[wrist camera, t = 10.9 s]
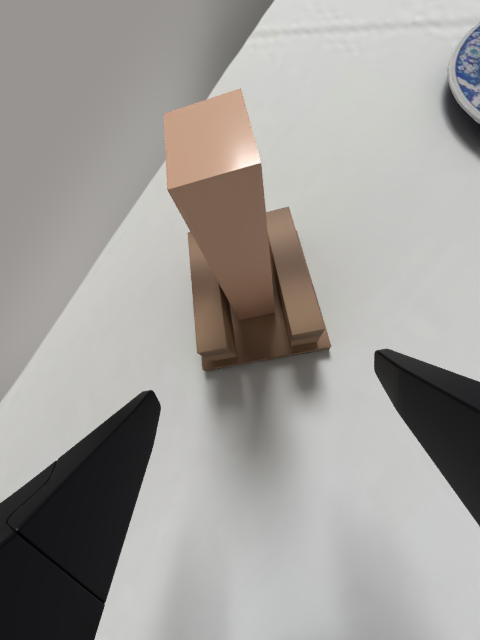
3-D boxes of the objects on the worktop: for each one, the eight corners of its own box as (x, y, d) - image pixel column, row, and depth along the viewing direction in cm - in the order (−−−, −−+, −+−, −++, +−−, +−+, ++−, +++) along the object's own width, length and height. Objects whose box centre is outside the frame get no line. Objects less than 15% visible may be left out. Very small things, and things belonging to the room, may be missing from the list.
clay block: (275, 312, 18) (261, 162, 7) (239, 320, 19) (167, 189, 7) (265, 271, 20) (240, 88, 8) (232, 278, 20) (163, 114, 8)
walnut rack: (329, 348, 17) (342, 333, 13) (205, 371, 19) (184, 363, 15) (295, 236, 21) (298, 198, 17) (195, 260, 22) (176, 230, 18)
